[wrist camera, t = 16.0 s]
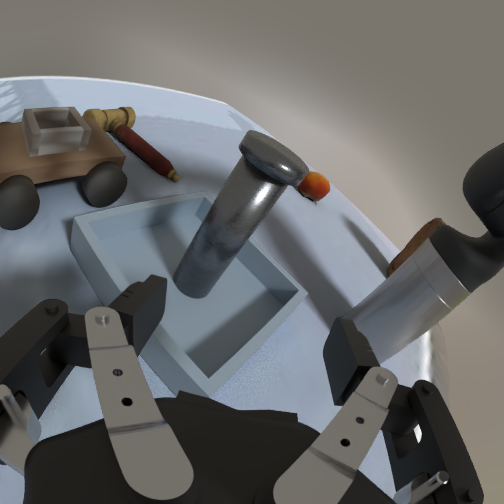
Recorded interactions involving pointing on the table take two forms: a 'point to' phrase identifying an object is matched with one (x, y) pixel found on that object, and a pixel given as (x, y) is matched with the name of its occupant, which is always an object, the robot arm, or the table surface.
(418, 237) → the block
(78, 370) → the table surface
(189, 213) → the tray
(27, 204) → the wheeled pole base
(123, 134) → the gavel
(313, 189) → the fruit
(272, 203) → the pin
